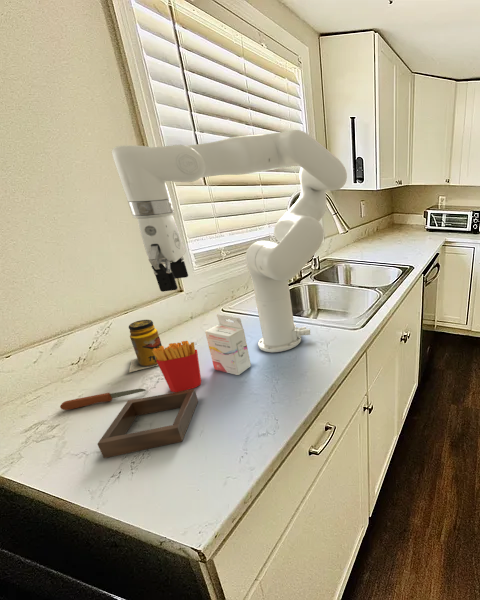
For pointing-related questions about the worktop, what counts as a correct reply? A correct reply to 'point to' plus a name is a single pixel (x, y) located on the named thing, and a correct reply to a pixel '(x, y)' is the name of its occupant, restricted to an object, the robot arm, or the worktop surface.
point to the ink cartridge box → (228, 345)
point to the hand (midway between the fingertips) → (175, 283)
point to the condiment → (144, 344)
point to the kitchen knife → (96, 399)
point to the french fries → (179, 365)
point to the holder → (123, 443)
